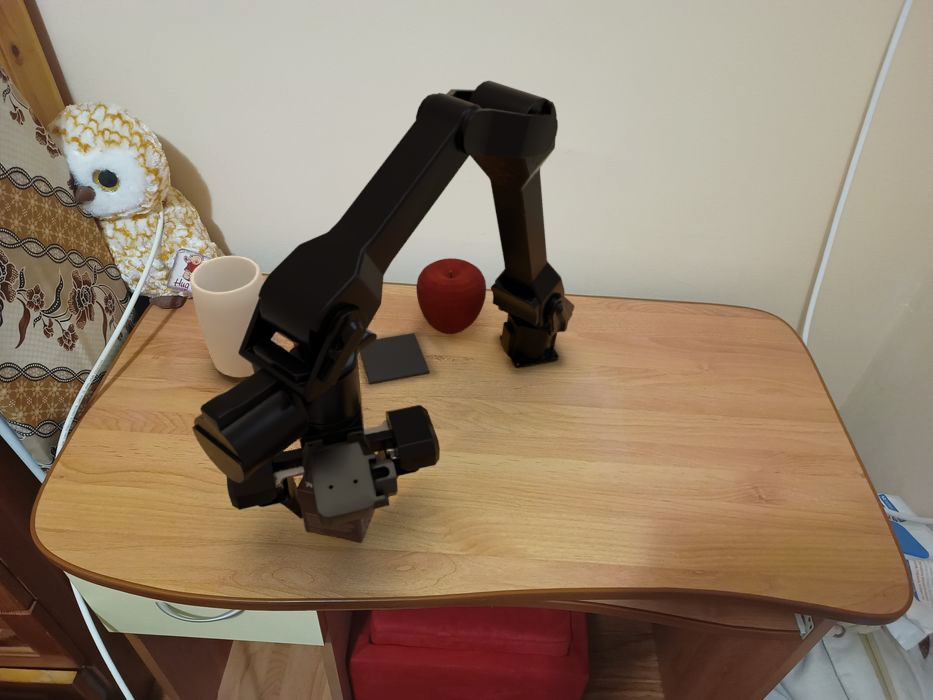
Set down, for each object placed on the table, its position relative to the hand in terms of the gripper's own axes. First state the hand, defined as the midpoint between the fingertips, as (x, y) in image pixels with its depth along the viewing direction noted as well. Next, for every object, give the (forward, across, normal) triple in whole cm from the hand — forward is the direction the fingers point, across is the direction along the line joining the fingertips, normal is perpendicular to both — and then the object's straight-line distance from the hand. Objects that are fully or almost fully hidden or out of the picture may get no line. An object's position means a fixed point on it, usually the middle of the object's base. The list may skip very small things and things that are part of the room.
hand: (342, 504), depth 63 cm
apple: (+3, +20, +28) cm, 35 cm away
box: (+2, 0, 0) cm, 2 cm away
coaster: (+3, +10, +23) cm, 25 cm away
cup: (+3, -8, +27) cm, 28 cm away
